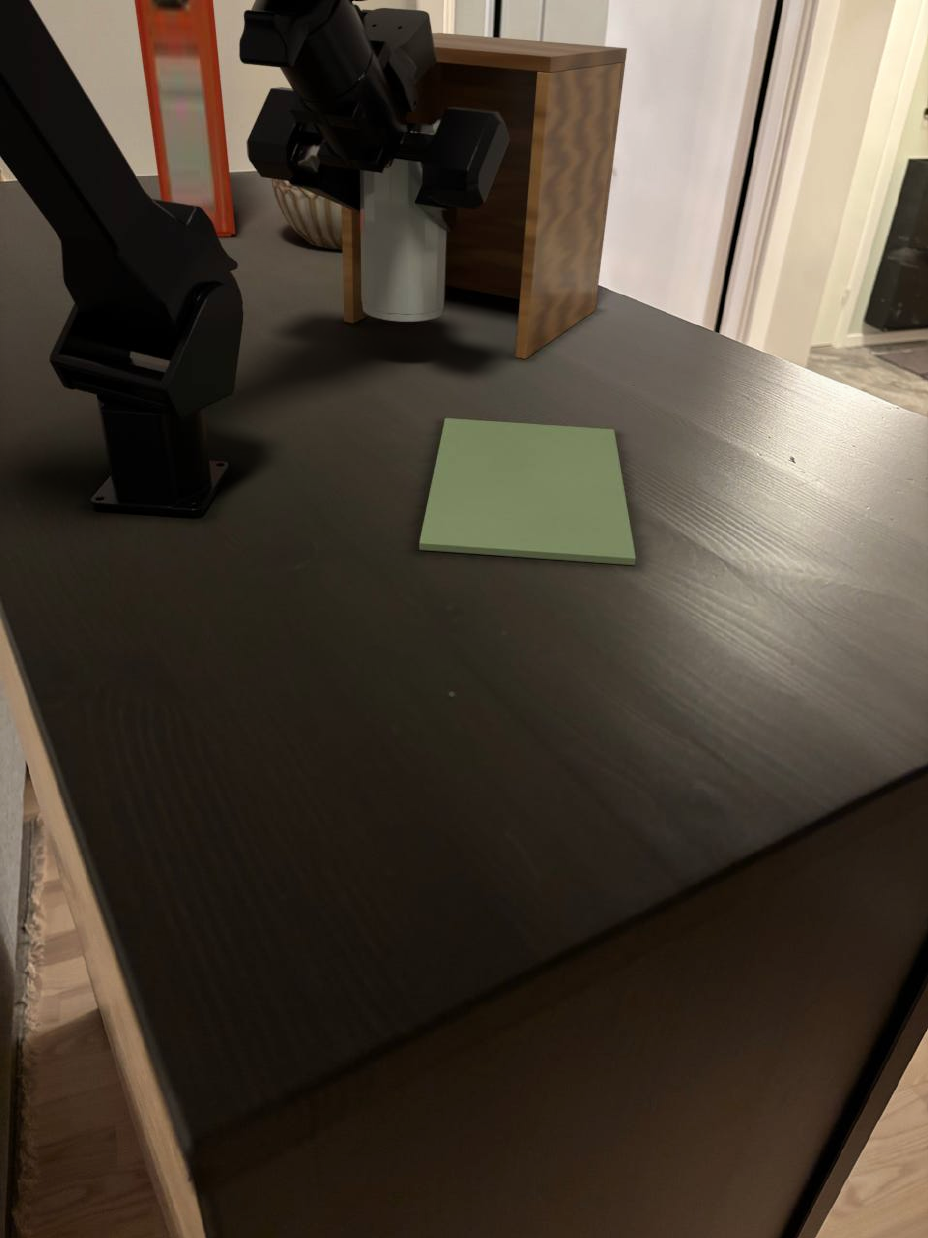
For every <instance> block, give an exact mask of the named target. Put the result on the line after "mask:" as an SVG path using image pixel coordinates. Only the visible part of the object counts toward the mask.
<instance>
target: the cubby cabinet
mask: <svg viewBox="0 0 928 1238" xmlns="http://www.w3.org/2000/svg"><path fill="white" fill-rule="evenodd" d="M432 35H433V41H434V47H435V53H436V59H437V64H436V65H435V66H434V68H433V69H431V68H430V69H429V70H428V71H427V72H426V74H425V75H424V76H423V77H422V78H421V80H420V81H419V82H418V83H417V84H416V85H415V88H416V90H417V92H418V94H419V97H420V100H419V102H418V104H417V107H416V109H415V111H414V113H409V112H408V113H407V115H406V120H407V122H410V123H418V124H427V125H433V124H434V123H435V122H436V121H437V120H439V119H441V118H442V116H443V113H444V111H445V108H448V107H454V106H455V107H464V108H473V109H482V110H491V111H499V112H500V114H501V116H502V118H503V120H504V122H505V125H506V128H507V131H508V134H509V137H510V141H509V143H508V146H507V148H506V151H505V153H504V156H503V158H502V161H501V163H500V166H499V168H498V171H497V173H496V176H495V178H494V181H493V183H492V186H491V188H490V191H489V193H488V195H487V198H486V200H485V203H484V204H482V205H481V206H479V207H477V208H476V209H468V208H462V207H457V218H456V223H455V226H454V228H453V231H452V232H447V253H446V281H445V287H450V288H456V289H460V290H461V289H462V290H465V291H472V292H478V293H482V294H489V295H492V296H493V295H494V296H499V297H504V298H508V299H509V298H510V299H515V300H519V304H518V318H517V319H518V320H517V331H516V345H515V358H518V359H522V360H523V359H524V360H526V359H528V358H530V357H532V355H534V354H535V353H536V352H538V351H540V350H541V349H543V348H544V347H545V346H547V345H548V344H549V343H551V342H552V341H554V340H555V339H556V338H558V337H559V336H561V335H563V334H564V333H565V332H566V331H568V330H569V329H571V328H572V327H574V326H575V325H576V324H578V323H580V322H581V321H582V320H584V319H585V318H586V317H588V316H589V315H590V314H592V313H593V312H595V311H596V306H597V299H598V292H599V291H598V290H599V283H600V274H601V265H602V257H603V248H604V240H605V233H606V224H607V216H608V210H609V209H608V208H609V202H610V201H609V200H610V191H611V183H612V175H613V167H614V158H615V150H616V142H617V134H618V126H619V118H620V110H621V102H622V93H623V87H624V86H623V84H624V78H625V77H624V76H625V71H626V60H627V53H628V48H627V47H618V46H617V47H616V46H605V45H594V44H593V45H592V44H591V45H590V44H581V43H567V42H556V41H543V40H532V39H531V40H530V39H521V38H520V39H519V38H507V37H495V36H494V37H493V36H484V35H483V36H482V35H471V34H458V33H446V32H445V33H444V32H432ZM341 207H342V247H343V250H342V280H343V281H342V282H343V312H344V313H343V321H344V323H345V322H346V323H350V324H355V323H357V322H359V321H361V320H363V319H365V318H368V317H371V316H370V315H368V314H366V313H365V312H364V311H363V309H362V299H361V222H360V214H358V213H356V212H354V211H352V210H350V209H348V208H345V207H343V206H341Z"/></svg>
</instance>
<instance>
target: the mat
mask: <svg viewBox="0 0 928 1238" xmlns="http://www.w3.org/2000/svg"><path fill="white" fill-rule="evenodd" d="M427 498H428V500H427V504H426V509H425V512H424V517H423V521H422V527H421V532H420V537H419V542H418V550H419V551H427V552H439V553H440V552H442V553H453V554H454V553H455V554H468V555H470V554H471V555H485V556H497V557H511V558H525V559H539V560H540V559H541V560H552V561H553V560H555V561H565V562H566V561H567V562H581V563H582V562H584V563H595V564H610V565H611V564H612V565H622V566H624V565H625V566H635V565H636V561H637V557H636V550H635V544H634V539H633V533H632V527H631V522H630V516H629V509H628V504H627V499H626V493H625V486H624V480H623V474H622V468H621V462H620V455H619V451H618V445H617V439H616V432H615V429H614V428H600V427H599V428H597V427H586V426H585V427H584V426H570V425H569V426H567V425H553V424H538V423H526V422H525V423H523V422H511V421H510V422H509V421H495V420H482V419H481V420H479V419H466V418H451V417H445V418H444V421H443V425H442V431H441V436H440V440H439V446H438V450H437V455H436V461H435V464H434V470H433V475H432V480H431V484H430V489H429V493H428V497H427Z"/></svg>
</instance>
